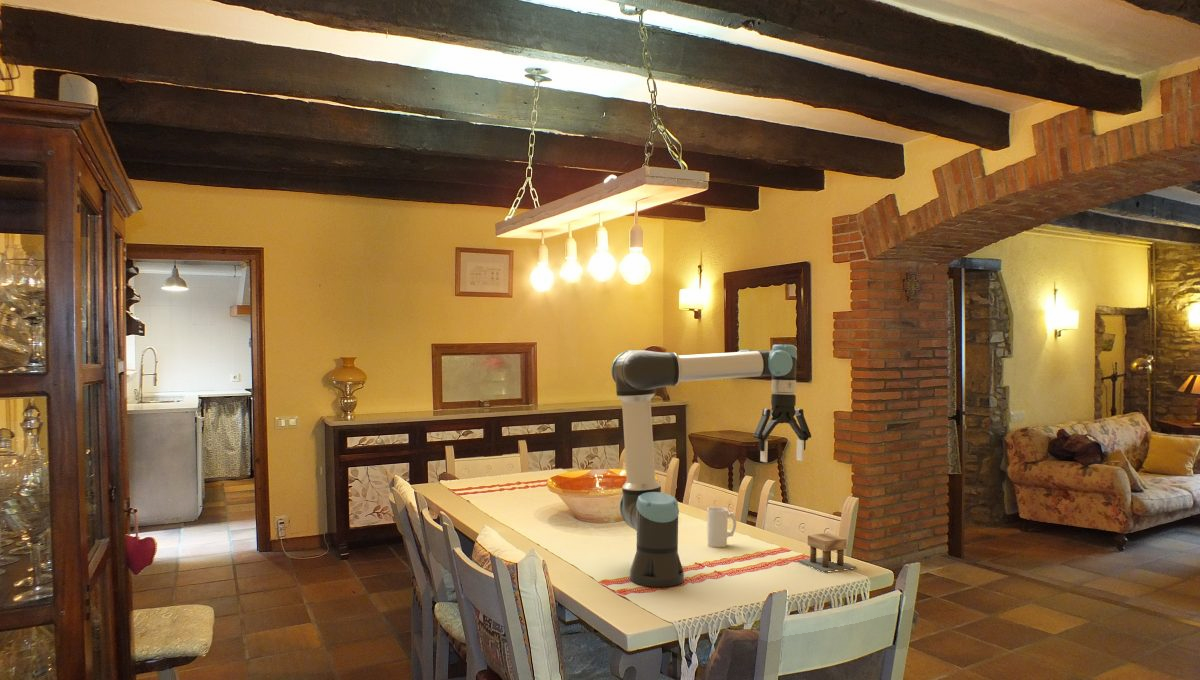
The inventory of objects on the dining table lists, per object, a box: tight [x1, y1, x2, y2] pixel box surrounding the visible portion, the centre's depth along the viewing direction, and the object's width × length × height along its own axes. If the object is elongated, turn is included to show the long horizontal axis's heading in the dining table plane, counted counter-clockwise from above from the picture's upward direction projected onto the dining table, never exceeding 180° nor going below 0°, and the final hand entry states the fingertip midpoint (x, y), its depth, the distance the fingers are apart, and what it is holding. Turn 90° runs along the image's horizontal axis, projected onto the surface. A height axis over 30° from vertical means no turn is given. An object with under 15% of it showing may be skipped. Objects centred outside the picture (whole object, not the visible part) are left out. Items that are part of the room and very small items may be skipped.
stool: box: [807, 532, 847, 568], centre depth 231 cm, size 8×8×8 cm
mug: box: [706, 506, 737, 549], centre depth 253 cm, size 10×7×12 cm, turn 101°
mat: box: [797, 557, 857, 573], centre depth 230 cm, size 12×12×1 cm
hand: (782, 461), depth 239 cm, fingers open, 13 cm apart
